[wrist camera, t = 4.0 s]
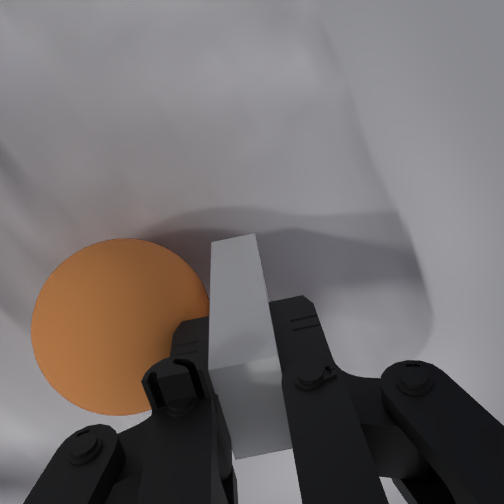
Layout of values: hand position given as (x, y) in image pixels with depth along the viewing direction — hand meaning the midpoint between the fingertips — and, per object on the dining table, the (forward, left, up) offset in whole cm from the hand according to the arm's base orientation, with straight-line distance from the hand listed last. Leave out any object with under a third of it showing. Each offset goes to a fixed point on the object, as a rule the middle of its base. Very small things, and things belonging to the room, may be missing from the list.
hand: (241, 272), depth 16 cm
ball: (-4, 0, +1) cm, 4 cm away
